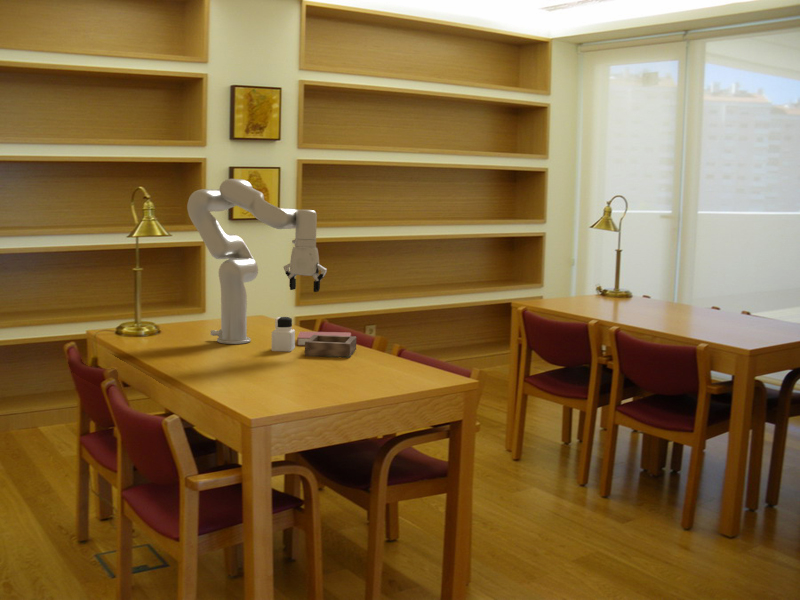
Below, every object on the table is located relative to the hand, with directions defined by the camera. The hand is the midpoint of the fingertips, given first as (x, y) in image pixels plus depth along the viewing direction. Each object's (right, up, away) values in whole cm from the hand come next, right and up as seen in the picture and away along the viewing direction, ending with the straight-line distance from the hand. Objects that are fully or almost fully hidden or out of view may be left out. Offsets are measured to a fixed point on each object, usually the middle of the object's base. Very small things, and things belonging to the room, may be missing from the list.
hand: (304, 290), depth 306 cm
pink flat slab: (+6, -20, +16) cm, 26 cm away
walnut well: (+10, -23, -4) cm, 25 cm away
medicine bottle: (-8, -22, 0) cm, 23 cm away
